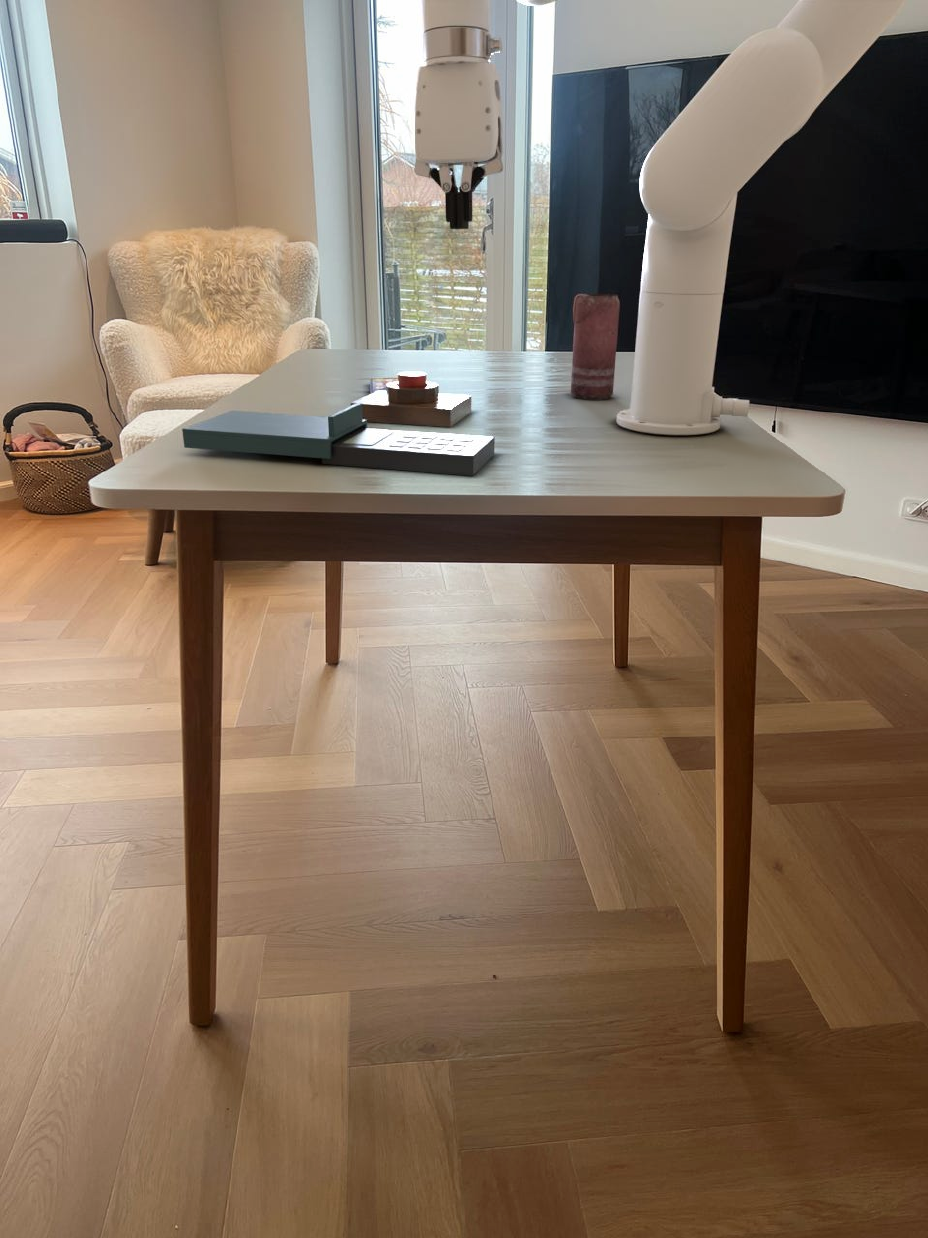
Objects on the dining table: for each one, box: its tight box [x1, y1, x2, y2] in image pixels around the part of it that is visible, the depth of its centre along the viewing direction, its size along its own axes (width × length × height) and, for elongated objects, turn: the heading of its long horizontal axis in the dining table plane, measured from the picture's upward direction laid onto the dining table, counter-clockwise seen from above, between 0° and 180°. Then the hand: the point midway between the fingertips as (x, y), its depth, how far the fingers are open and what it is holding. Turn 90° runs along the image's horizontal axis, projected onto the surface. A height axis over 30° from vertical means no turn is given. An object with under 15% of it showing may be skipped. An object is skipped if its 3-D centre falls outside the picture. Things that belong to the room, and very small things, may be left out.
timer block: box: [350, 380, 472, 428], centre depth 111 cm, size 13×10×4 cm
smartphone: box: [369, 377, 398, 394], centre depth 128 cm, size 1×7×15 cm
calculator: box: [321, 427, 496, 477], centre depth 91 cm, size 16×9×2 cm, turn 75°
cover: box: [181, 403, 368, 459], centre depth 94 cm, size 17×10×4 cm, turn 75°
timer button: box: [397, 371, 427, 388], centre depth 110 cm, size 4×4×2 cm
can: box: [570, 293, 621, 401], centre depth 124 cm, size 6×6×14 cm
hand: (459, 228), depth 107 cm, fingers closed
